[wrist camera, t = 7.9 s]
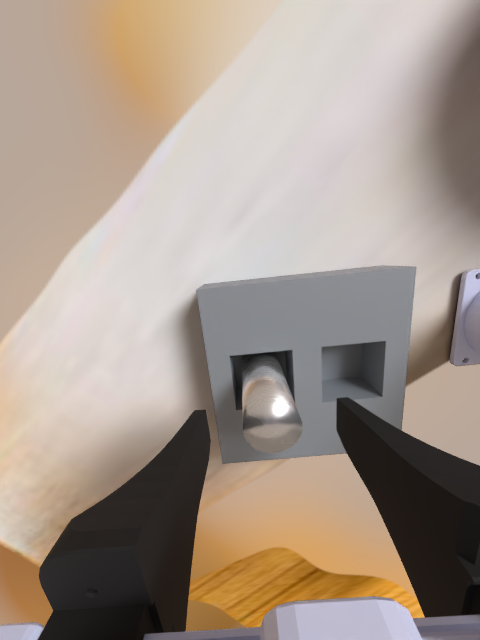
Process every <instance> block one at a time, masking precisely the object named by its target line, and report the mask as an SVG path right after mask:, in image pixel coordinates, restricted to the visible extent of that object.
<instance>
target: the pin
mask: <svg viewBox="0 0 480 640" xmlns="http://www.w3.org/2000/svg"><path fill="white" fill-rule="evenodd" d="M242 404H243V433H244V437H245V439H246V440H247V442H248V443H249V444H250V445H251V446H252V447H253V448H255V449H257V450H259V451H261V452H266V453H278V452H282V451H285V450H287V449H289V448H291V447H292V446H293V445H294V444H295V443H296V442H297V441H298V440H299V438H300V436H301V433H302V428H303V426H302V420H301V418H300V415H299V412H298V410H297V407H296V405H295V402H294V399H293V397H292V394H291V392H290V389H289V387H288V384H287V381H286V379H285V376H284V374H283V371H282V368H281V366H280V363H279V361H278V358H277V356H276V353H275V352H265V353H255V354H245V355H243V357H242Z"/></svg>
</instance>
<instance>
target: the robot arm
mask: <svg viewBox="0 0 480 640" xmlns="http://www.w3.org/2000/svg"><path fill="white" fill-rule="evenodd" d="M476 274H477V277H476ZM463 359H464V360H463ZM462 360H463V361H462ZM450 363H451V364H453V365H455V366H463V365H475V364H480V269H473V270H467V271H465V272H464V273H463V274H462V277H461V284H460V291H459V298H458V305H457V312H456V319H455V326H454V333H453V340H452V347H451V354H450ZM336 430H337V433H338V435H339V437H340V440H341V442H342V444H343V447H344V449H345V451H346V452H347V454H348V456H349V457H350V459H351V461H352V463H353V465H354V466H355V468H356V470H357V471H358V473H359V475H360V477H361V478H362V480H363V482H364V484H365V485H366V487H367V489H368V491H369V492H370V494H371V496H372V498H373V500H374V502H375V504H376V506H377V508H378V510H379V512H380V514H381V516H382V518H383V521H384V523H385V525H386V527H387V529H388V532H389V533H390V536H391V538H392V540H393V543H394V545H395V547H396V549H397V551H398V554H399V556H400V558H401V561H402V563H403V565H404V568H405V570H406V572H407V575H408V577H409V579H410V582H411V584H412V587H413V589H414V591H415V594H416V596H417V599H418V601H419V604H420V606H421V609H422V611H423V614H424V616H425V618H412V617H411V615H410V613H409V610H408V609H407V608H405V607H404V606H402V605H401V604H399V603H398V602H396V601H394V600H393V599H391V598H384V597H375V596H373V597H356V598H340V599H324V600H307V601H293V602H289V603H284V604H280V605H277V606H276V607H274V608H273V609H272V610H270V611H269V612H268V613H266V615H265V616H264V618H263V622H262V625H261V627H255V628H238V629H220V630H205V631H204V630H203V631H186V632H185V630H186V617H187V605H188V596H189V586H190V575H191V565H192V556H193V548H194V538H195V531H196V523H197V515H198V509H199V504H200V499H201V494H202V490H203V485H204V480H205V475H206V470H207V466H208V461H209V452H210V441H211V440H210V434H209V428H208V422H207V416H206V410H195V411H194V412H193V413H192V414H191V416H190V417H189V418H188V420H187V421H186V422H185V423H184V425H183V426H182V427H181V429H180V430H179V431H178V432H177V433H176V435H175V436H174V437H173V438H172V440H171V441H170V442H169V443H168V444H167V445H166V446H165V447H164V448H163V450H162V451H161V452H160V453H159V454H158V455H157V456H156V457H155V458H154V459H153V460H152V461H151V462H150V463H149V464H148V465H146V466H145V467H144V468H143V469H142V470H141V471H140V472H138V473H137V474H136V475H135V476H134V477H132V478H131V479H130V480H129V481H127V482H126V483H125V484H124V485H122V486H121V487H120V488H118V489H117V490H116V491H114V492H113V493H111V494H110V495H109V496H107V497H106V498H104V499H103V500H101V501H100V502H98V503H97V504H95V505H94V506H92V507H91V508H89V509H87V510H86V511H84V512H83V513H81V514H79V515H78V516H76V517H74V518H73V519H72V520H71V521H70V522H69V524H68V525H67V527H66V528H65V530H64V531H63V533H62V534H61V536H60V537H59V539H58V540H57V542H56V543H55V545H54V546H53V548H52V549H51V551H50V553H49V554H48V556H47V557H46V559H45V560H44V562H43V564H42V565H41V567H40V572H39V579H40V582H41V586H42V588H43V590H44V592H45V594H46V596H47V598H48V600H49V602H50V605H51V607H52V609H53V613H52V615H51V616H50V618H49V620H48V622H47V624H46V626H45V627H44V626H43V625H41V624H39V623H34V622H30V623H14V624H2V625H0V640H480V466H479V465H476V464H473V463H471V462H468V461H466V460H463V459H460V458H458V457H456V456H453V455H451V454H449V453H446V452H444V451H442V450H439V449H437V448H435V447H433V446H430V445H428V444H426V443H424V442H422V441H420V440H418V439H416V438H414V437H412V436H410V435H408V434H407V433H405V432H403V431H401V430H400V429H398V428H396V427H394V426H393V425H391V424H389V423H388V422H386V421H384V420H383V419H381V418H380V417H378V416H376V415H375V414H373V413H372V412H370V411H369V410H367V409H366V408H364V407H363V406H361V405H360V404H358V403H357V402H355V401H353V400H352V399H350V398H349V397H343V398H337V408H336Z"/></svg>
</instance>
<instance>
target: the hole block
mask: <svg viewBox="0 0 480 640" xmlns="http://www.w3.org/2000/svg"><path fill="white" fill-rule="evenodd" d="M415 275H416V267H409V266H374V267H364V268H355V269H345V270H336V271H326V272H317V273H307V274H298V275H288V276H279V277H269V278H260V279H250V280H241V281H231V282H222V283H212V284H204V285H203V286H201V287H200V288H198V289H197V290H196V292H197V299H198V305H199V312H200V318H201V325H202V331H203V338H204V344H205V351H206V357H207V364H208V370H209V377H210V383H211V390H212V396H213V403H214V410H215V416H216V423H217V429H218V436H219V442H220V449H221V455H222V462H223V464H225V463H237V462H249V461H261V460H273V459H285V458H296V457H308V456H320V455H332V454H343V453H347V452H346V451H345V449H344V447H343V444H342V442H341V440H340V437H339V435H338V433H337V430H336V408H337V398H343V397H349V398H350V399H352V400H353V401H355V402H357V403H358V404H360V405H361V406H363V407H364V408H366V409H367V410H369V411H370V412H372V413H373V414H375V415H376V416H378V417H380V418H381V419H383V420H384V421H386V422H388V423H389V424H391V425H393V426H394V427H396V428H398V429H400V430H401V429H402V419H403V407H404V396H405V385H406V374H407V363H408V352H409V341H410V330H411V319H412V308H413V297H414V286H415ZM265 352H275V353H276V356H277V358H278V361H279V363H280V366H281V368H282V371H283V374H284V376H285V379H286V381H287V384H288V387H289V389H290V392H291V394H292V397H293V399H294V402H295V405H296V407H297V410H298V412H299V415H300V418H301V420H302V426H303V428H302V433H301V436H300V438H299V440H298V441H297V442H296V443H295V444H294V445H293V446H292V447H291V448H289V449H287V450H285V451H282V452H278V453H266V452H261V451H259V450H257V449H255V448H253V447H252V446H251V445H250V444H249V443H248V442H247V440H246V439H245V437H244V433H243V404H242V357H243V355H245V354H255V353H265Z"/></svg>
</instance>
